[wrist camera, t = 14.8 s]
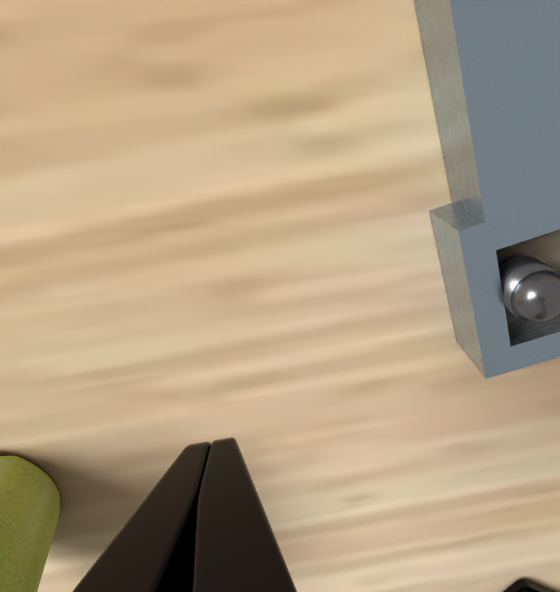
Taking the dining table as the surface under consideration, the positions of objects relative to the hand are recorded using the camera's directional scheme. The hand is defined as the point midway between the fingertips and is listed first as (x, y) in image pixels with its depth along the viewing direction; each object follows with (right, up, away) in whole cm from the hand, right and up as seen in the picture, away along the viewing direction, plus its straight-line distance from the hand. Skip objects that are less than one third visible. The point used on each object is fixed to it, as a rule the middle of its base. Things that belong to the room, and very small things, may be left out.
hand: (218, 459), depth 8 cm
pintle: (+10, +4, +11) cm, 15 cm away
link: (+9, +8, +9) cm, 15 cm away
